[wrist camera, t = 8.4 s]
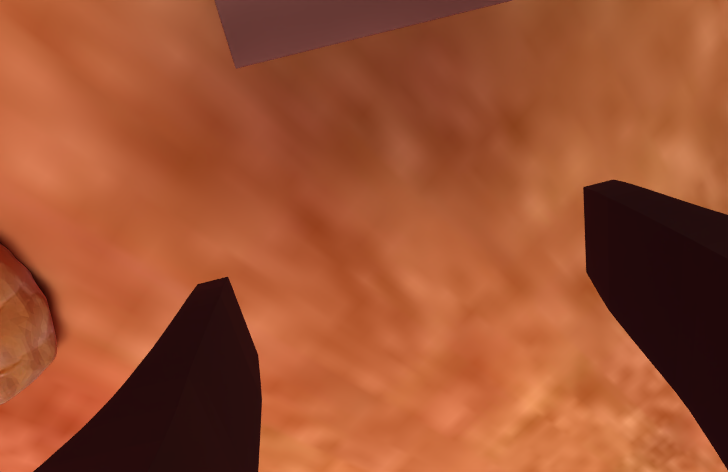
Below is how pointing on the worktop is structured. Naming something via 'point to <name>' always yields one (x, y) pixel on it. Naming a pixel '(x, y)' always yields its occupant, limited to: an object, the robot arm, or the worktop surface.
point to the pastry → (22, 328)
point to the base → (321, 22)
